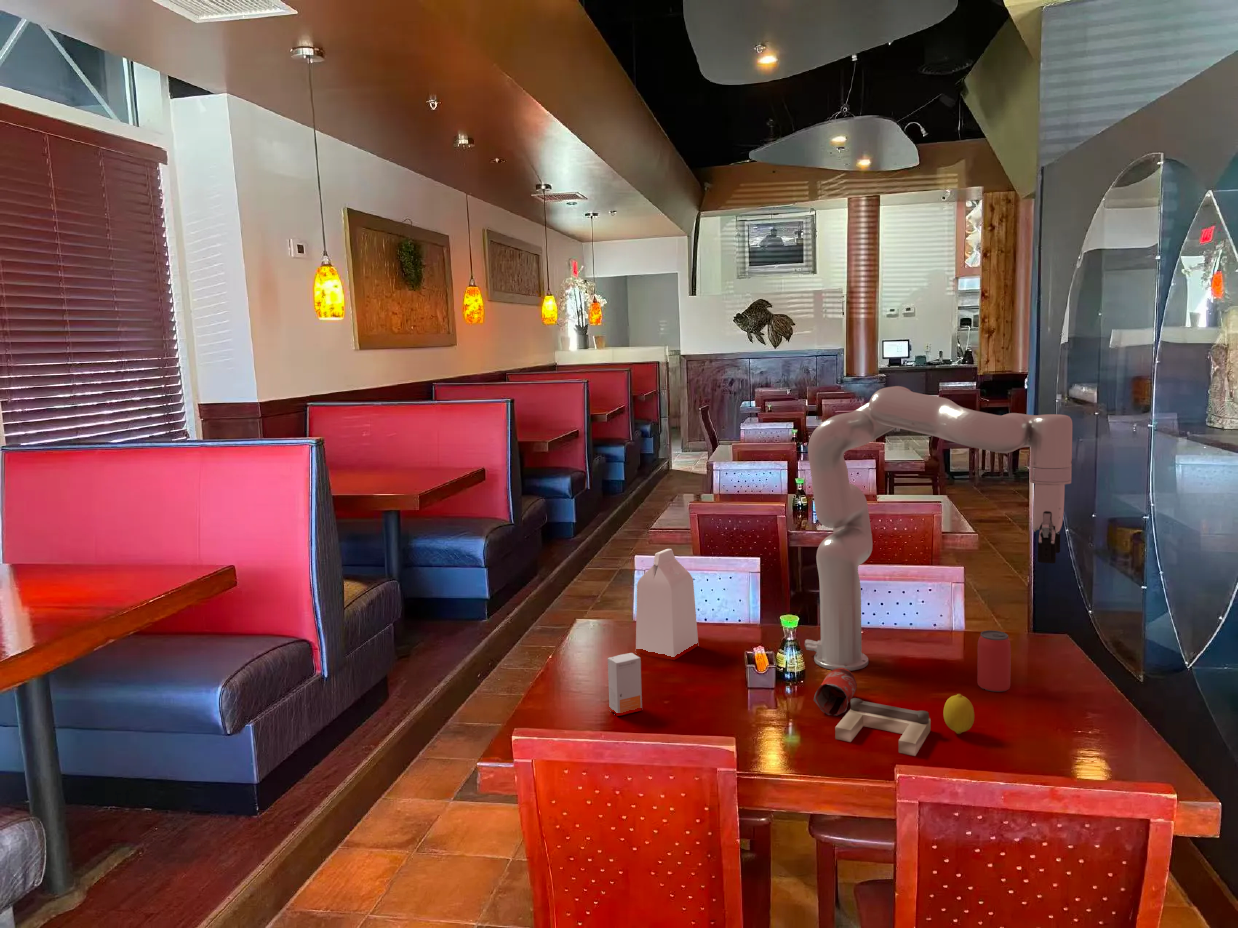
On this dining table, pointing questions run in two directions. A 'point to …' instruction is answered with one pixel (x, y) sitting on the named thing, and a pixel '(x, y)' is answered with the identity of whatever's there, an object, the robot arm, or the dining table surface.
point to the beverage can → (836, 690)
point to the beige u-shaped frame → (886, 723)
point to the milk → (666, 607)
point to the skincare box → (624, 682)
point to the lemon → (958, 713)
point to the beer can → (994, 661)
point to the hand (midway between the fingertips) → (1049, 557)
